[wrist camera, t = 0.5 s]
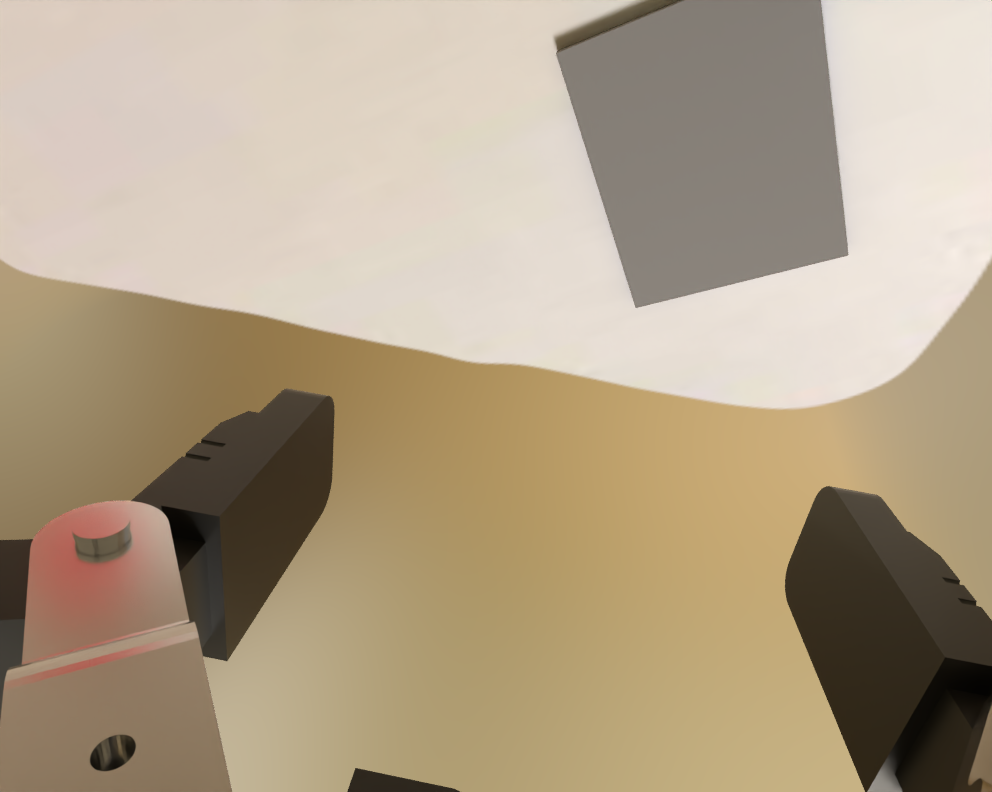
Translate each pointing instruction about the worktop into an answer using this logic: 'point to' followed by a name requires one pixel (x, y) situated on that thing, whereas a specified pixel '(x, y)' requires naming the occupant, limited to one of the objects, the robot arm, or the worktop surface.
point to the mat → (711, 142)
